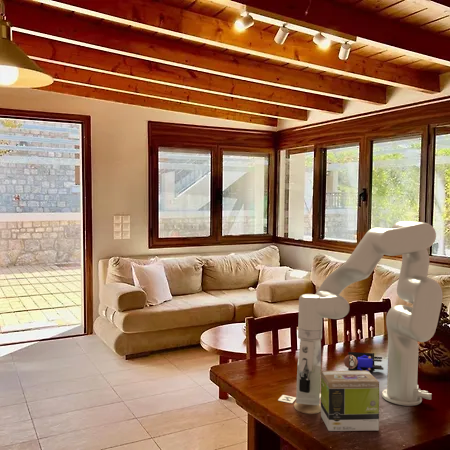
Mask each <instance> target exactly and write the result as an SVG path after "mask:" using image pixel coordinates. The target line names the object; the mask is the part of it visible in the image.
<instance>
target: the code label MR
mask: <svg viewBox="0 0 450 450" xmlns="http://www.w3.org/2000/svg"><path fill="white" fill-rule="evenodd" d="M277 401H278V402H282V403H286V404H287V403H288V404H294V403H295V402H296V396H290V395H286V394H282V395H281V396H280V397H279V398H278V399H277Z"/></svg>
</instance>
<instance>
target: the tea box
mask: <svg viewBox="0 0 450 450" xmlns="http://www.w3.org/2000/svg"><path fill="white" fill-rule="evenodd" d="M320 394H321V398H320V404H321V412H320V417H321V419H322V421H323V422H324V424H325V426H326V428H327V431H328V432H351V431H352V432H353V431H355V432H357V431H359V432H360V431H369V432H370V431H372V432H373V431H375V432H376V431H380V381H379V380H378V379H376V377H375V376H374V375H373V374H371V371H366V370H365V371H364V370H363V371H360V370H321V375H320Z"/></svg>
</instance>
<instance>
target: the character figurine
mask: <svg viewBox="0 0 450 450" xmlns="http://www.w3.org/2000/svg"><path fill="white" fill-rule="evenodd" d="M375 362H379V363H381V362H383V357H382V356H375V353H374V352H371V353H370V352H356V351H355V352H354V351H348V352H347V355H346V356H345V357H344V359H343V365H344V366H345V367H346V368H348V370H349V371H365V370H366V371H369V372H375V370H378V371H379V370H381V371H383V370H384V367H383V366H382V365H380V364H378V365H376V364H375Z"/></svg>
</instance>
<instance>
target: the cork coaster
mask: <svg viewBox="0 0 450 450" xmlns="http://www.w3.org/2000/svg"><path fill="white" fill-rule="evenodd" d="M293 408H294V410H296V411H298V412H299V413H301V414H307V415H313V414H315V415H316V414H319V413H321V402H319V405H308V404H298V403H296V401H294V402H293Z"/></svg>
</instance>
